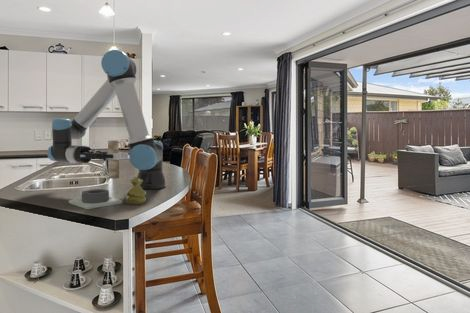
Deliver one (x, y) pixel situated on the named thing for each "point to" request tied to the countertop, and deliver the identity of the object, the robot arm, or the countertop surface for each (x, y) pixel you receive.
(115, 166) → the peg
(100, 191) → the socket
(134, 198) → the olive twisted vase
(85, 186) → the countertop surface
